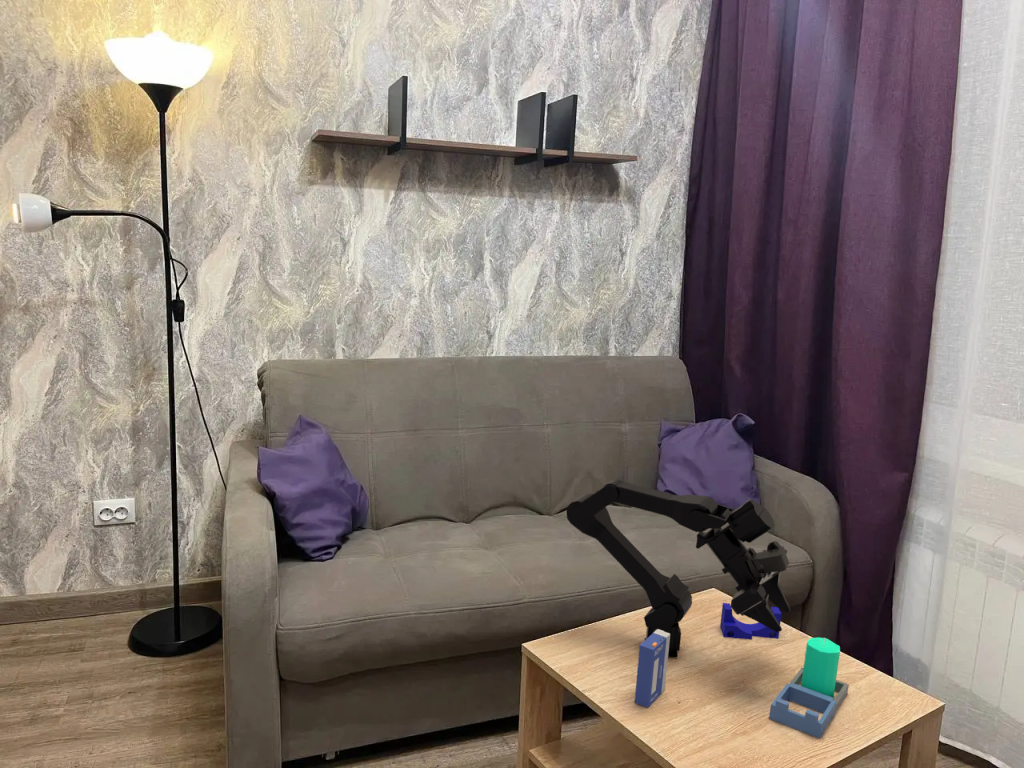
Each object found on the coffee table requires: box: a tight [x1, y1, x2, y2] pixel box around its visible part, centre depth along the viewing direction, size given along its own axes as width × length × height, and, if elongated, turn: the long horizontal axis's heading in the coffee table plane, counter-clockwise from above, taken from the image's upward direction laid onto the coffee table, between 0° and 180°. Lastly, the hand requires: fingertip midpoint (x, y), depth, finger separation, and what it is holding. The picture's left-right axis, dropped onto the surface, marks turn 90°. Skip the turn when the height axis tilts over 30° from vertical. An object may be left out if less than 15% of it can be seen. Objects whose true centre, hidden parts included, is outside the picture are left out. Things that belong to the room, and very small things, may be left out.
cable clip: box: [719, 602, 782, 640], centre depth 177 cm, size 12×4×6 cm, turn 86°
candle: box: [800, 637, 841, 699], centre depth 155 cm, size 6×6×12 cm
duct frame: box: [768, 667, 850, 739], centre depth 152 cm, size 18×9×4 cm, turn 144°
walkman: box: [634, 629, 670, 709], centre depth 151 cm, size 8×3×12 cm, turn 146°
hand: (784, 621), depth 157 cm, fingers open, 9 cm apart
